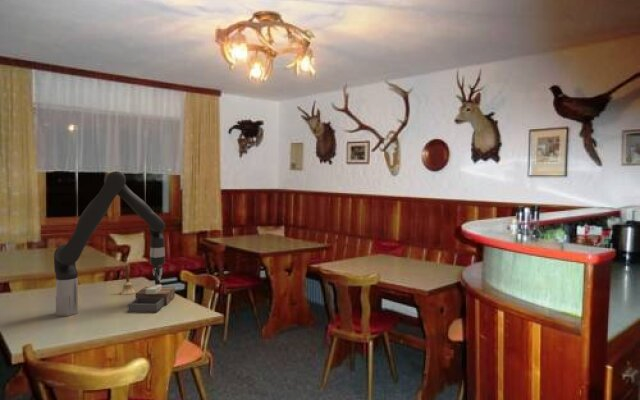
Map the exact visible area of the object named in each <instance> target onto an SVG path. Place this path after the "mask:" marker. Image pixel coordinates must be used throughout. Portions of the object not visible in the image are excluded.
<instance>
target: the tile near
mask: <svg viewBox="0 0 640 400" xmlns="http://www.w3.org/2000/svg"><path fill="white" fill-rule="evenodd" d="M147 287H148V288H147V289H146V294H156V293H158V292H159V287H150V286H147Z"/></svg>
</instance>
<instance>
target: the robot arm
mask: <svg viewBox="0 0 640 400" xmlns="http://www.w3.org/2000/svg"><path fill="white" fill-rule="evenodd" d="M103 183H104V184H103V186H102V187H101V189H100V190H99V192H98V194H96V196H95V197H94V198H93V199H92V200H91V201H90V202H89V203H88V205H86V206H85V209H84V210H83V211H82V213H81V215H80V216H79V218H78V220H77V222H76V226H75V229H74V232H73V234H72V236H71V238H70V239H69V240H68V242H67V243H66V244H65V243H64V244H61V245H58V246H57V247H56V249H55V251H54V253H53V255H54V256H53V265H54V266H53V267H54V274H55V295H56V296H55V316H59V317H69V316H72V315H75V314H77V313H79V276H78V275H79V272H78V269H77V267H76V265H77V264H76V263H77V261H78V260H79V258H80V257H81V255H82V253H83V251H84V249H85V246H86V245H87V243H88V241H89V240H90V239H91V237H92V235H93V234H94V233H95V231H96V229H97V228H98V227H99V226H100V224H101V222H102V220H103V219H104V218H105V215H106V213H107V212H108V210H109V209H110V206H111V204H112V203H113V201H114V199H115V198H116V196H119V198H120V199H122V200H123V201H124V202H125V203H126V204H127V205H128V206H129V207H130V208H131V209H132V210H133V212H134V213H136V215H137V216H138V217H139V218H140V219H142V220H143V221H144V222H145V223H146V224H147V225H148V226H149V234H150V251H149V263H150V264H149V265H151V266H153V268H152V271H151V277H152V280H153V281H154V285H161V280H162V276H163V272H164V267H163V266H162V265H165V263H166V251H165V250H166V249H165V237H164V233H163V232H164V230H165V228H166V223H165V221H164V220H163V219H162V218H161V217H160V216H158V215H157V213H156V212H154V211H153V209H152V208H151V207H150V206H149V205H148V203H146V202H145V201H144V200H143V199H142V198H140V196H138V195H137V194H136V193H134V192H133V191H132V190H131V189H130V187H128V185H127V184H126V183H127V178H126V176H125V174H124V173H123V172H122V171H118V170H117V171H116V170H115V171H111V172H109V173H107V174H106V175H105V176H104V178H103Z"/></svg>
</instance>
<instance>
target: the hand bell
mask: <svg viewBox="0 0 640 400" xmlns="http://www.w3.org/2000/svg"><path fill="white" fill-rule="evenodd" d="M130 272H131V268H130V265H128V264H126V265H125V268H124V274H125V277H126V278H125V281H126V282H125V283H123V286H122V290H121V291H120V292H119V294H120V295H122V296H128V295H129V296H130V295H135V294H136V293H137V291H136V290H135V289H134V288H133V283H132V282H130V274H131V273H130Z"/></svg>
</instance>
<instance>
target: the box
mask: <svg viewBox="0 0 640 400" xmlns="http://www.w3.org/2000/svg"><path fill="white" fill-rule="evenodd" d="M127 304H128V305H127V312H128V313H156V314H157V313H158V312H159V311H161V310H162V309H163V307H164V306H166V305H165V298H140V297H137V298H136V297H135V298H134V299H133V300H132V301H131V302H129V303H127Z"/></svg>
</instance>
